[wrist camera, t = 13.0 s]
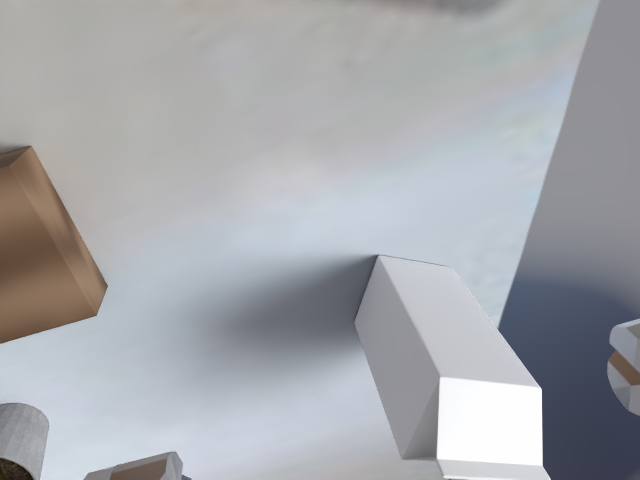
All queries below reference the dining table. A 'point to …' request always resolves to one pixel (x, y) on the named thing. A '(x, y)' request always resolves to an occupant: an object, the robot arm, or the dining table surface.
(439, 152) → the dining table surface
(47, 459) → the dining table surface
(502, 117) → the dining table surface
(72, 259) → the walnut plinth
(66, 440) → the dining table surface
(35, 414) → the house plant
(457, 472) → the milk carton
